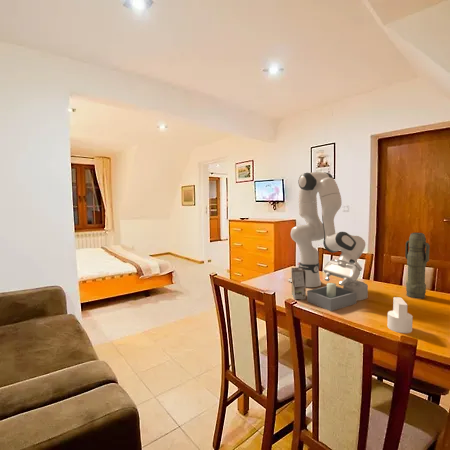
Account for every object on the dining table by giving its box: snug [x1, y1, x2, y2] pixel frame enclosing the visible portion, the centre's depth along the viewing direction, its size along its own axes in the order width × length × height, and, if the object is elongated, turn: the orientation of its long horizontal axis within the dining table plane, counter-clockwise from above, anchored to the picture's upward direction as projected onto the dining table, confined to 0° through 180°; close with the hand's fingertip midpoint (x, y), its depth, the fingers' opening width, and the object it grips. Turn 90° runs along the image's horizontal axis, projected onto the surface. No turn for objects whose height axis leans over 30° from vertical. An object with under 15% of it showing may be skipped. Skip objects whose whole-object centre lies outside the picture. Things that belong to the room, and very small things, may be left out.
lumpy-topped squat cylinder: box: [342, 279, 369, 301], centre depth 161 cm, size 10×13×9 cm
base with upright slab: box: [386, 296, 414, 334], centre depth 122 cm, size 9×9×12 cm
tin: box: [326, 282, 337, 298], centre depth 153 cm, size 5×5×9 cm
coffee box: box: [290, 266, 307, 300], centre depth 163 cm, size 9×6×16 cm
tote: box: [306, 285, 357, 312], centre depth 154 cm, size 16×19×6 cm
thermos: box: [404, 232, 431, 300], centre depth 157 cm, size 9×12×35 cm
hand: (333, 282), depth 154 cm, fingers open, 8 cm apart
